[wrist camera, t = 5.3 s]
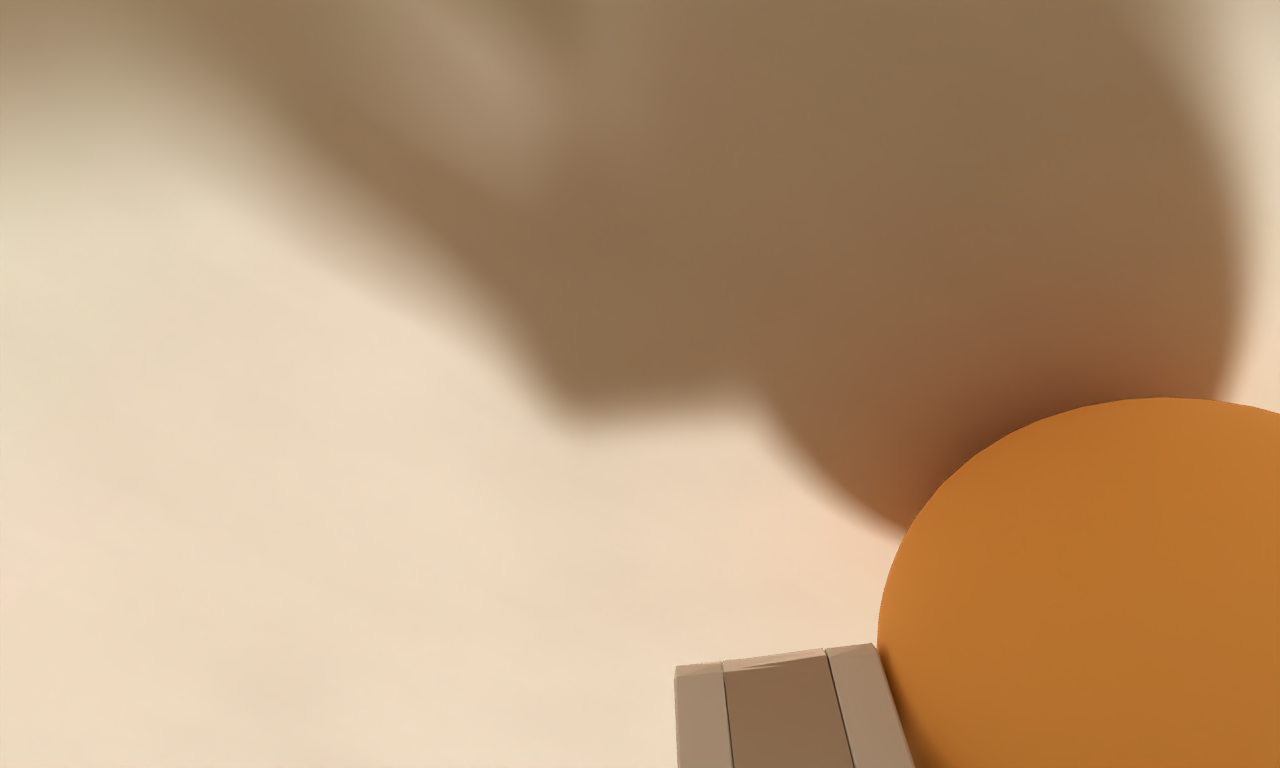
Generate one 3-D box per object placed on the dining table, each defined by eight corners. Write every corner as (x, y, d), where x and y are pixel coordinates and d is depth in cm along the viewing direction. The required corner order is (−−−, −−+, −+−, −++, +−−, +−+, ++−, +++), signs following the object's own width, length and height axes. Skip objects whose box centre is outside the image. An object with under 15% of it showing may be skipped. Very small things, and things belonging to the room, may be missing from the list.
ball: (1013, 267, 10) (1726, 372, 6) (990, 591, 13) (1479, 790, 9) (746, 525, 7) (1861, 1010, 3) (793, 882, 10) (1422, 1353, 6)
